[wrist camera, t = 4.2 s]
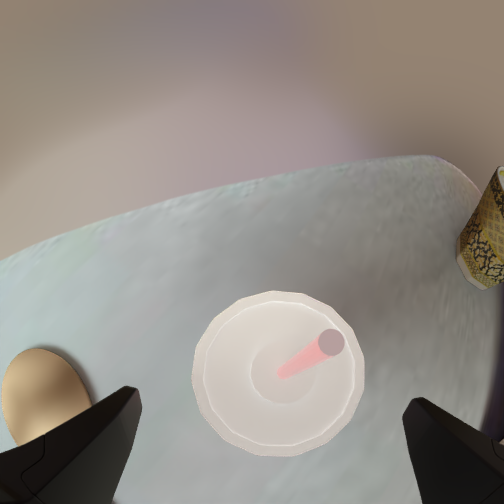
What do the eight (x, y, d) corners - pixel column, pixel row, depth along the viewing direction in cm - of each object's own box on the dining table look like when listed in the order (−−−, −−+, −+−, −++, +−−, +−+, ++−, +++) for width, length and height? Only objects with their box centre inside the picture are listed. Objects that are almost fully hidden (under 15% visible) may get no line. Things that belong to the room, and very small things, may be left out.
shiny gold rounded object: (118, 410, 14) (114, 409, 14) (65, 492, 10) (61, 494, 9) (37, 326, 17) (33, 324, 16) (-6, 405, 12) (-11, 404, 11)
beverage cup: (267, 446, 14) (353, 551, 2) (193, 390, 16) (77, 353, 4) (324, 376, 17) (485, 301, 5) (253, 323, 18) (287, 159, 6)
